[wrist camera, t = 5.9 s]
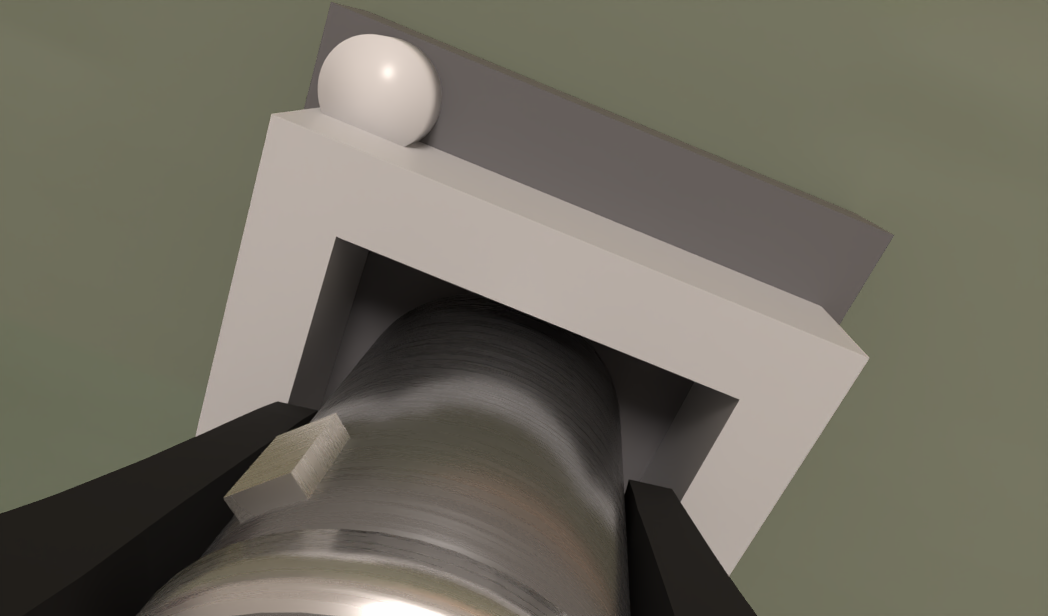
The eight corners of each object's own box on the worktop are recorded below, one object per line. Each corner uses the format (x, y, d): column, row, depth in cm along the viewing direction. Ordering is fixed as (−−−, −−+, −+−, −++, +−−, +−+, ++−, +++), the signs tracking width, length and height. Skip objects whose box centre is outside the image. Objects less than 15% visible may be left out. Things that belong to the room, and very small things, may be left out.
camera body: (599, 652, 15) (600, 816, 12) (231, 508, 15) (125, 634, 12) (855, 213, 11) (962, 273, 8) (366, 11, 11) (266, -15, 8)
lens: (669, 488, 11) (751, 1008, 5) (428, 565, 12) (255, 1066, 6) (551, 231, 10) (468, 509, 4) (293, 342, 11) (-95, 695, 5)
